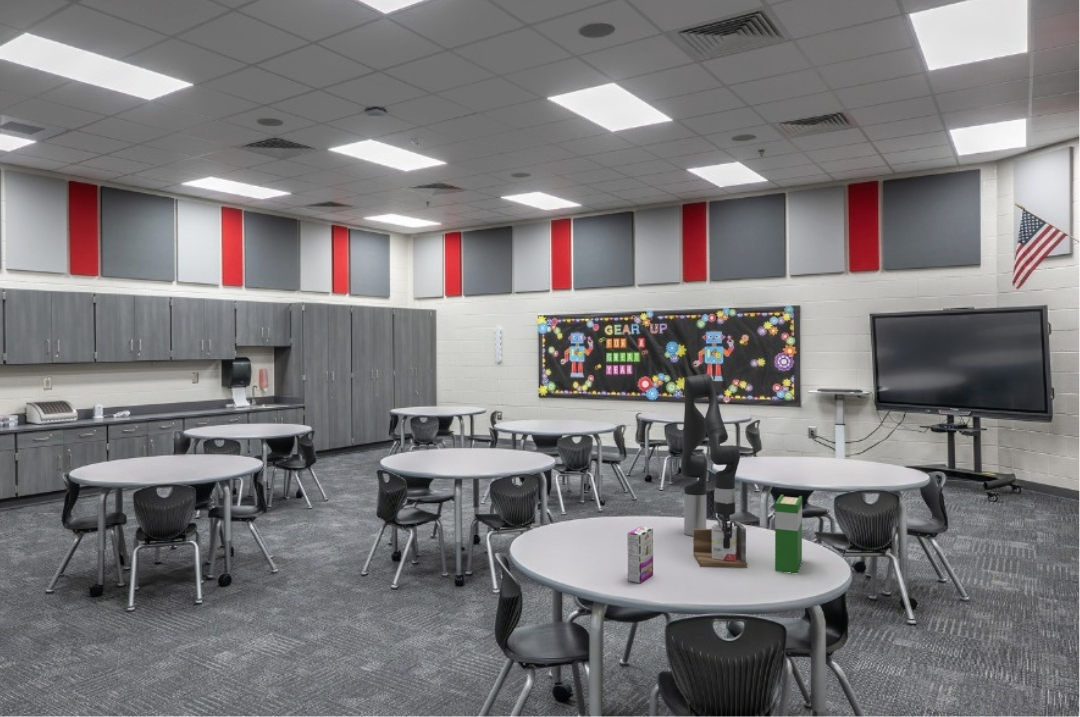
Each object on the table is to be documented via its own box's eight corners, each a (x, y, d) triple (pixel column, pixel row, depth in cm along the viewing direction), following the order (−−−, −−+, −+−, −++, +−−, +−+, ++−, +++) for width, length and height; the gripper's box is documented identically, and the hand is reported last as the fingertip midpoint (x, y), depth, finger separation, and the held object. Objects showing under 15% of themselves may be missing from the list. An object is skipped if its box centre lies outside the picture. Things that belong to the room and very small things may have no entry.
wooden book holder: (693, 555, 262) (693, 519, 262) (737, 555, 261) (737, 520, 261) (700, 566, 247) (700, 529, 247) (747, 567, 246) (747, 530, 246)
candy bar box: (640, 572, 239) (640, 525, 240) (653, 575, 237) (653, 527, 237) (626, 581, 230) (626, 532, 230) (640, 584, 227) (640, 534, 227)
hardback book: (780, 558, 258) (781, 494, 258) (801, 560, 255) (802, 496, 255) (775, 571, 242) (775, 503, 242) (797, 574, 239) (797, 505, 239)
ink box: (737, 558, 252) (737, 525, 252) (735, 561, 248) (735, 528, 248) (713, 555, 256) (714, 523, 256) (711, 558, 251) (711, 526, 251)
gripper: (710, 496, 259) (710, 540, 259) (718, 504, 245) (718, 551, 245) (730, 496, 259) (730, 540, 259) (739, 504, 244) (739, 551, 244)
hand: (724, 545), depth 252 cm, fingers closed on ink box, 6 cm apart
